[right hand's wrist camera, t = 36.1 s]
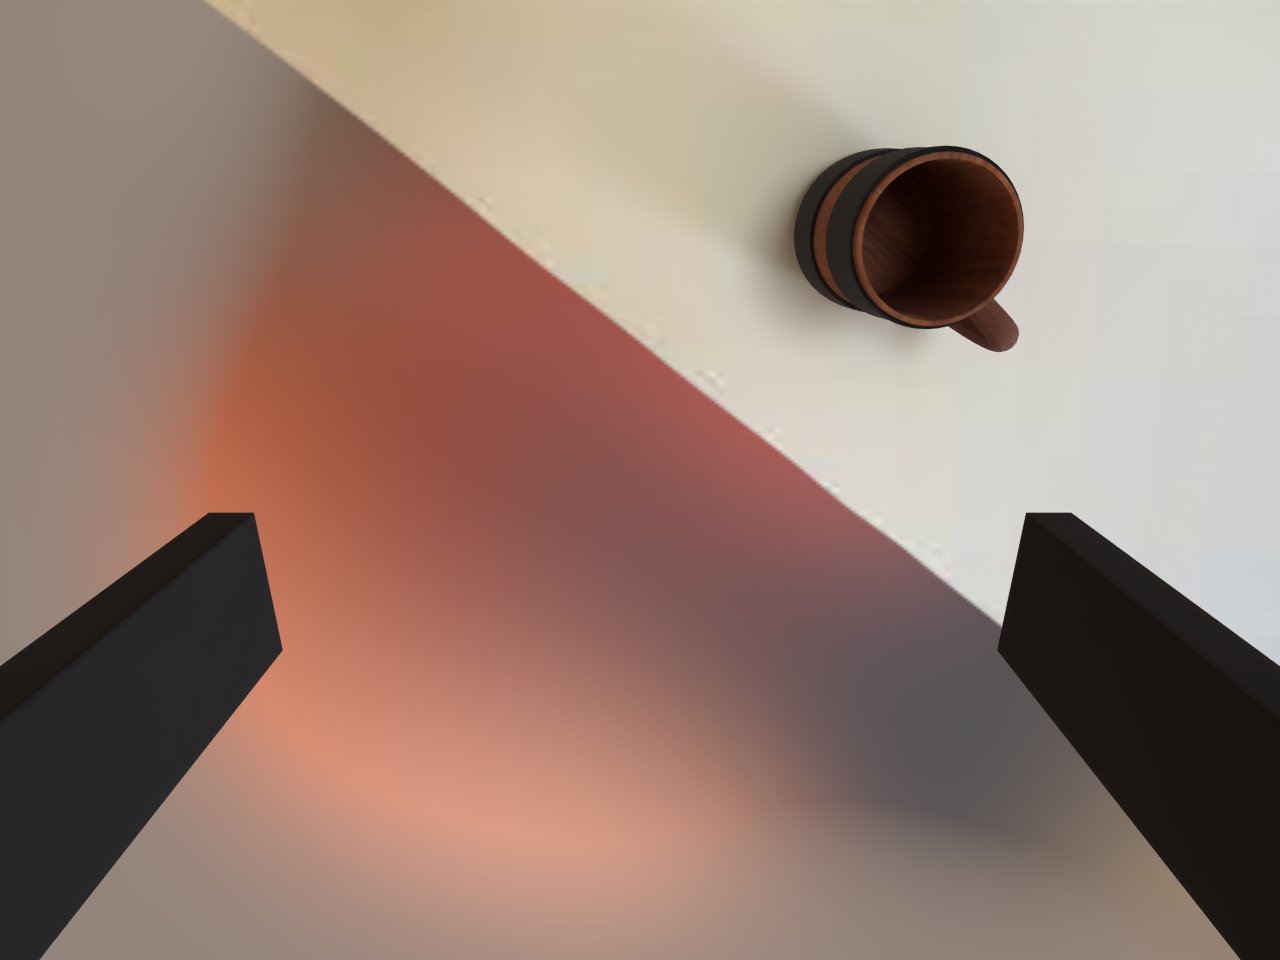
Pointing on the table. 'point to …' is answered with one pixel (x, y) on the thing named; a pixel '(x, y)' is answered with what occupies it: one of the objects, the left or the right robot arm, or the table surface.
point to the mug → (915, 239)
